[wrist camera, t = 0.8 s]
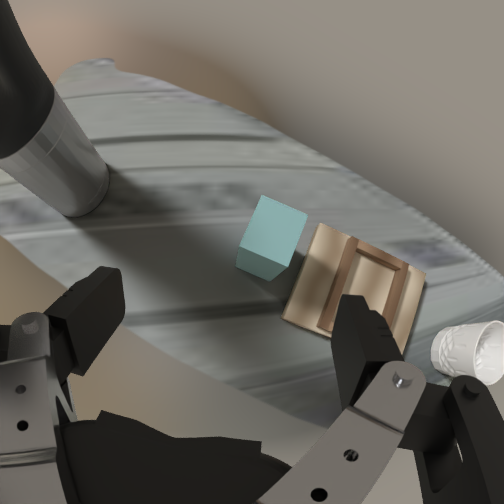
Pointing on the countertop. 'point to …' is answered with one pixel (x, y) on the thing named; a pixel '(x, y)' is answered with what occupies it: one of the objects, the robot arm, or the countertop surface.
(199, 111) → the countertop surface
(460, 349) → the white cup
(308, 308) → the tan flat rimmed tray
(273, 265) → the pale teal block
